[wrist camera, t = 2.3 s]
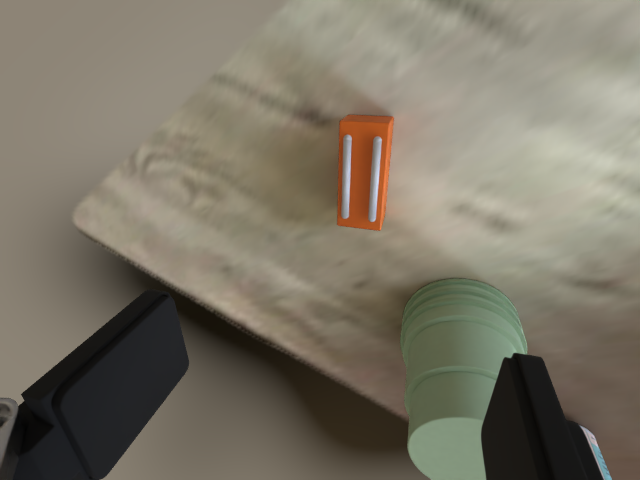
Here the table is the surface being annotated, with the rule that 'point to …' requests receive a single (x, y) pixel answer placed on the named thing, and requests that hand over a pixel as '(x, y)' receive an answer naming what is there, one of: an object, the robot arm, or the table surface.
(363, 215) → the striped orange block
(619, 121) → the table surface
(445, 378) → the cup stack
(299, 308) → the table surface
